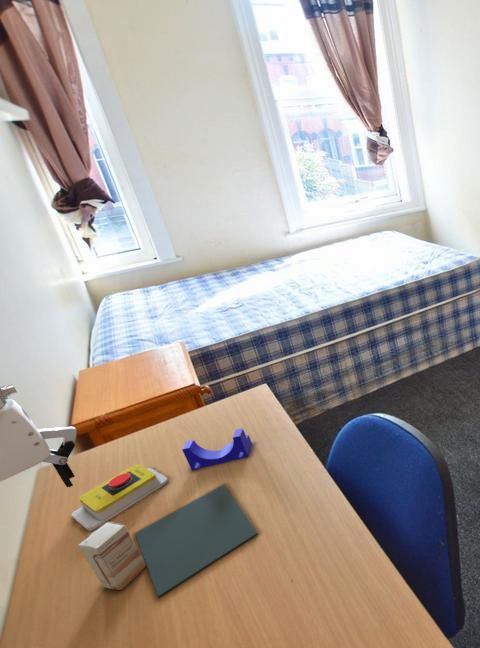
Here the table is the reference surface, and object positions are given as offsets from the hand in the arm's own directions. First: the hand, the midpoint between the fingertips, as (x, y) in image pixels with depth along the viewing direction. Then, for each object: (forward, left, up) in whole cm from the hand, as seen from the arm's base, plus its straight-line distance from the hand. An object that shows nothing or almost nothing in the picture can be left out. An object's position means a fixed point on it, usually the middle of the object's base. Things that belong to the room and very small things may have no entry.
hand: (27, 503), depth 70 cm
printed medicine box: (+5, +1, -22) cm, 22 cm away
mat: (+16, +1, -22) cm, 27 cm away
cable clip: (+27, +22, -22) cm, 41 cm away
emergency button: (+8, +26, -22) cm, 35 cm away
